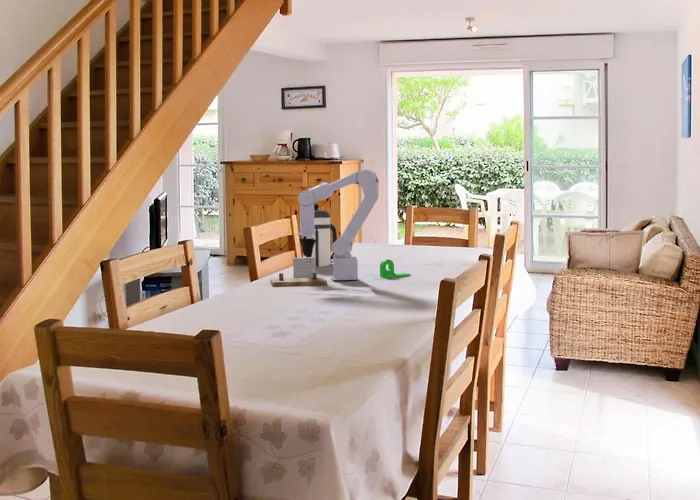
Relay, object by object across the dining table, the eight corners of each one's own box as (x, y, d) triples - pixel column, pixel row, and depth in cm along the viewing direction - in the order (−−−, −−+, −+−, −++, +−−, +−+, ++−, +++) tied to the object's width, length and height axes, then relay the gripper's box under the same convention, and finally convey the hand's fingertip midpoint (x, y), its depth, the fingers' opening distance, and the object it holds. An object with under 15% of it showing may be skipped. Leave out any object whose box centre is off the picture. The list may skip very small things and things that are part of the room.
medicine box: (315, 279, 308) (315, 257, 308) (312, 280, 304) (311, 258, 304) (296, 278, 311) (296, 257, 310) (293, 279, 306) (292, 258, 306)
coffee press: (335, 273, 330) (335, 203, 328) (298, 274, 330) (297, 203, 328) (337, 270, 347) (336, 203, 345) (301, 270, 347) (300, 203, 346)
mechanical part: (389, 280, 301) (388, 260, 301) (380, 279, 306) (379, 259, 306) (413, 278, 308) (413, 258, 307) (404, 277, 313) (403, 258, 312)
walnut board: (321, 281, 300) (321, 270, 300) (327, 285, 285) (326, 274, 285) (270, 282, 297) (270, 272, 297) (272, 286, 282) (272, 275, 282)
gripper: (295, 221, 309) (295, 255, 310) (298, 222, 294) (299, 257, 295) (312, 221, 310) (313, 255, 311) (317, 222, 296) (317, 257, 296)
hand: (307, 256), depth 303 cm, fingers open, 7 cm apart
